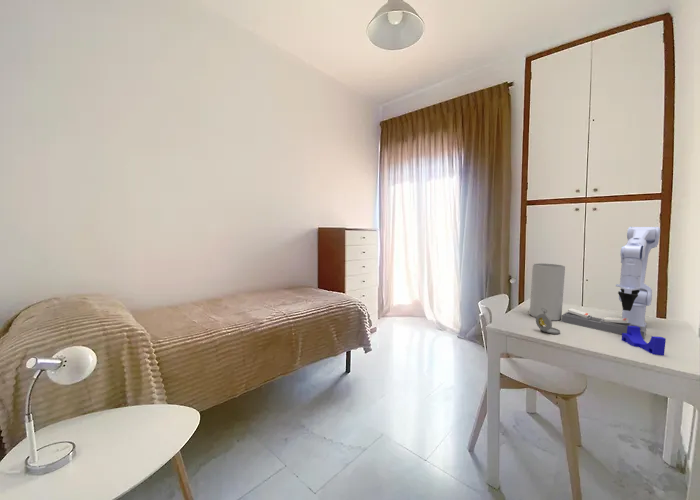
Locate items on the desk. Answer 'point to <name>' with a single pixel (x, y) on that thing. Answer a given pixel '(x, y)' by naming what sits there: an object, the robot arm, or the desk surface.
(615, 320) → the rocker outlet
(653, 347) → the cable clip
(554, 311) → the cylinder vase
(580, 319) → the power strip
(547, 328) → the pocket watch
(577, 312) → the rocker outlet
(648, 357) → the desk surface
